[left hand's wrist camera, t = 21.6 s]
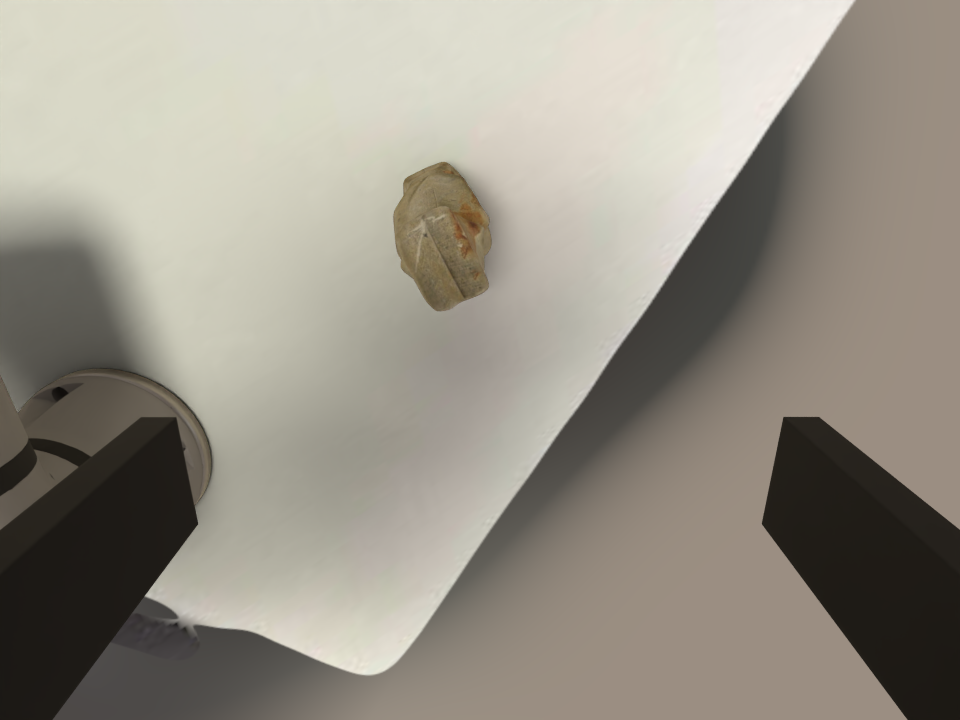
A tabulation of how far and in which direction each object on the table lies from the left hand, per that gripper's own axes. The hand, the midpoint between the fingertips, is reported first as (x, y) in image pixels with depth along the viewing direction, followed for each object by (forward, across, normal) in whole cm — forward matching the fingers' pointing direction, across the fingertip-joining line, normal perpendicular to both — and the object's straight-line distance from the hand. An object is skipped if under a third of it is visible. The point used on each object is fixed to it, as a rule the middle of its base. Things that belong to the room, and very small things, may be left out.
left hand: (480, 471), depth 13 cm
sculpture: (+33, +2, -2) cm, 33 cm away
